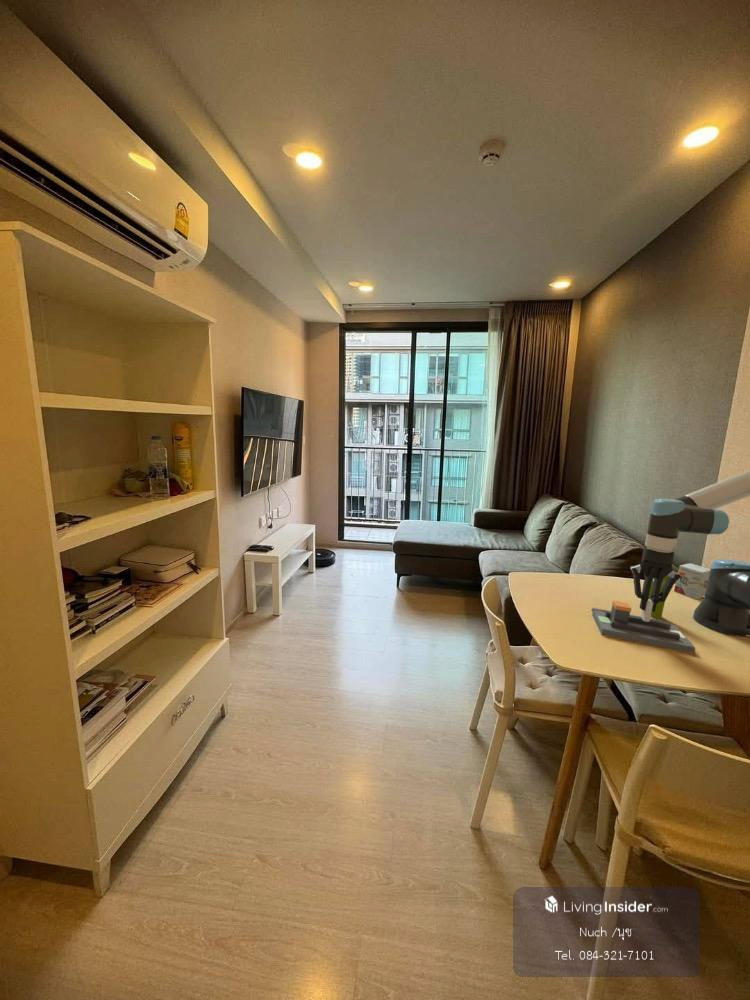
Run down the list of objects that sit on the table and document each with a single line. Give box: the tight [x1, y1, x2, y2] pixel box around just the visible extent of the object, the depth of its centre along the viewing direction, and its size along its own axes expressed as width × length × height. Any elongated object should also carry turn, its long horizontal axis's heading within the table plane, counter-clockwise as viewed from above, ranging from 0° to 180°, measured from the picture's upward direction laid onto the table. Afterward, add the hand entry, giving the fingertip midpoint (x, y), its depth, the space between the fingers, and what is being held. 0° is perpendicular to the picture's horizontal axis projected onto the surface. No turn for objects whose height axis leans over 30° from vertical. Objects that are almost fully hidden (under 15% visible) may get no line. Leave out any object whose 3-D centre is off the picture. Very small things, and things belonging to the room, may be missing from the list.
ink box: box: [673, 563, 710, 600], centre depth 155 cm, size 9×9×12 cm
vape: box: [648, 574, 669, 619], centre depth 132 cm, size 4×6×20 cm, turn 26°
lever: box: [610, 600, 632, 623], centre depth 121 cm, size 4×4×6 cm
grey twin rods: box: [591, 607, 668, 622], centre depth 129 cm, size 23×3×1 cm, turn 70°
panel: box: [591, 610, 696, 654], centre depth 120 cm, size 24×14×4 cm, turn 70°
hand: (645, 619), depth 119 cm, fingers closed
